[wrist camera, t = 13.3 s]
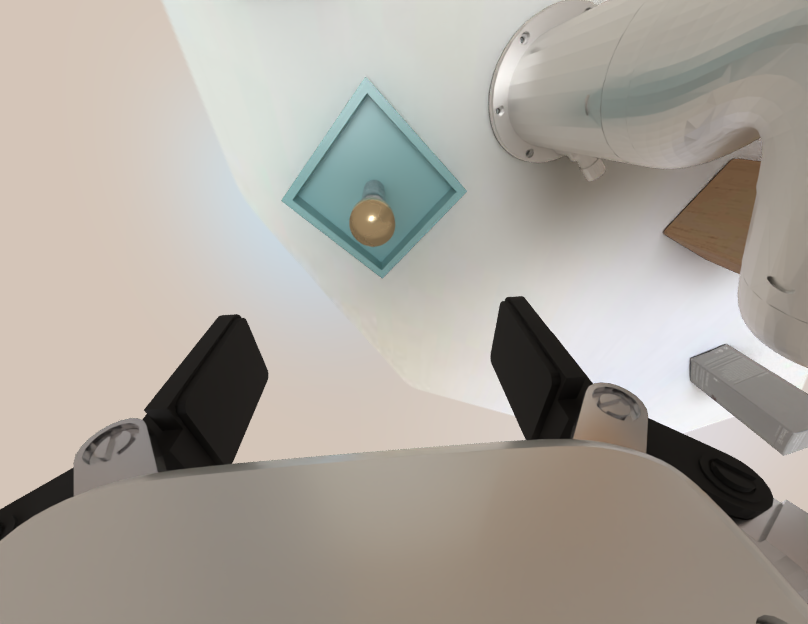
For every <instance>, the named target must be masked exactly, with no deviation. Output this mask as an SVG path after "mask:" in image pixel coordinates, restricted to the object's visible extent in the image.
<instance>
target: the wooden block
mask: <svg viewBox="0 0 808 624" xmlns="http://www.w3.org/2000/svg"><path fill="white" fill-rule="evenodd" d="M760 165H761V161H753V160H744V159H733V160H731V161H730V162H729V163H728V164H727V165H726V166H725V167H724V168H723V169H722V170H721V171H720V172H719V173H718V174H717V175H716V176H715V178H714V179H713V180H712V181H711V182H710V183H709V184H708V185H707V186H706V187H705V188H704V189H703V190H702V191H701V192H700V193H699V194H698V195H697V197H696V198H695V199H694V200H693V201H692V202H691V203H690V204H689V205H688V206H687V207H686V208H685V209H684V210H683V211H682V212H681V213H680V215H679V216H678V217H677V218H676V219H675V220H674V221H673V222H672V223H671V224H670V225H669V226H668V227H667V228H666V229H665V231H664V234H665V235H666V236H668V237H669V238H671V239H673V240H674V241H676V242H678V243H679V244H681V245H683V246H684V247H686V248H688V249H689V250H691V251H693V252H694V253H696V254H698V255H699V256H701V257H703V258H704V259H706V260H708V261H710V262H713V263H715V264H717V265H720V266H722V267H724V268H727V269H729V270H731V271H733V272H736V273H738V274H740V271H741V266H742V258H743V254H744V249H745V245H746V240H747V235H748V231H749V226H750V222H751V217H752V212H753V208H754V203H755V199H756V194H757V191H756V185H757V181H758V176H759V170H760Z"/></svg>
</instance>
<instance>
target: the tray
mask: <svg viewBox="0 0 808 624" xmlns="http://www.w3.org/2000/svg"><path fill="white" fill-rule="evenodd" d="M370 180H377V181H379V182H381V183H382V184H383V186H384V189H385V199H386V203H387V204H388V205H389V206H390V207H391V209H392V211H393V213H394V218H395V231H394V234H393V236H392V237H391V238H390V240H389V241H388V242H386V243H385V244H383V245H381V246H376V247H370V246H366V245H363V244H361V243H360V242H358V241H357V240H356V239H355V238H354V236H353V235H352V233H351V230H350V226H349V220H350V215H351V212H352V209H353V207H354V206H355V205H356V204H357V203H358V202H359V201H360V200H362V195H363V190H364V186H365V184H366V183H367V182H368V181H370ZM466 192H467V191H466V190H465V188H464V187H463V186H462V185H461V184H460V183H459V182H458V180H457V179H456V178H455V177H454V176H453V175H452V174H451V173H450V171H449V170H448V169H447V168H446V167H445V166H444V165H443V163H442V162H441V161H440V160H439V159H438V158H437V157H436V156H435V154H434V153H433V152H432V151H431V150H430V149H429V148H428V147H427V145H426V144H425V143H424V142H423V141H422V140H421V139H420V137H419V136H418V135H417V134H416V133H415V132H414V131H413V130H412V128H411V127H410V126H409V125H408V124H407V123H406V122H405V121H404V119H403V118H402V117H401V116H400V115H399V114H398V113H397V111H396V110H395V109H394V108H393V107H392V106H391V105H390V104H389V102H388V101H387V100H386V99H385V98H384V97H383V96H382V95H381V93H380V92H379V91H378V90H377V89H376V88H375V87H374V85H373V84H372V83H371V82H370V81H369V80H368V79H367V78H366V77H365V78H364V80H363V81H362V83H361V84H360V86H359V87H358V89H357V90H356V91H355V93H354V94H353V96H352V97H351V99H350V100H349V102H348V103H347V105H346V106H345V108H344V109H343V111H342V112H341V114H340V115H339V116H338V118H337V119H336V121H335V122H334V124H333V125H332V127H331V128H330V130H329V131H328V133H327V134H326V136H325V137H324V139H323V140H322V142H321V143H320V144H319V146H318V147H317V149H316V150H315V152H314V153H313V155H312V156H311V158H310V159H309V161H308V162H307V164H306V165H305V167H304V168H303V169H302V171H301V172H300V174H299V175H298V177H297V178H296V180H295V181H294V183H293V184H292V186H291V187H290V189H289V190H288V192H287V193H286V195H285V196H284V197H283V199H282V200H281V201H282V202H284V203H285V204H286V205H287V206H289V207H290V208H291V209H293V210H294V211H295V212H297V213H298V214H299V215H300V216H302V217H303V218H304V219H306V220H307V221H308V222H310V223H311V224H312V225H313V226H315V227H316V228H317V229H319V230H320V231H321V232H323V233H324V234H325V235H326V236H328V237H329V238H330V239H332V240H333V241H334V242H336V243H337V244H338V245H339V246H341V247H342V248H343V249H345V250H346V251H347V252H349V253H350V254H351V255H352V256H354V257H355V258H356V259H358V260H359V261H360V262H362V263H363V264H364V265H365V266H367V267H368V268H369V269H371V270H372V271H373V272H374V273H376V274H377V275H378V276H380V277H381V278H383V277H384V276H385V275H386V274H387V273H388V272H389V271H390V270H391V269H392V268H393V267H394V266H395V265H396V264H397V263H398V262H399V261H400V260H401V259H402V258H403V257H404V256H405V255H406V254H407V253H408V252H409V251H410V250H411V249H412V248H413V247H414V246H415V244H416V243H417V242H418V241H419V240H420V239H421V238H422V237H423V236H424V235H425V234H426V233H427V232H428V231H429V230H430V229H431V228H432V227H433V226H434V225H435V224H436V223H437V222H438V221H439V220H440V219H441V218H442V217H443V216H444V215H445V214H446V213H447V212H448V210H449V209H450V208H451V207H452V206H453V205H454V204H455V203H456V202H457V201H458V200H459V199H460V198H461V197H462V196H463V195H464V194H465V193H466Z"/></svg>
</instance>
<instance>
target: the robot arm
mask: <svg viewBox="0 0 808 624" xmlns="http://www.w3.org/2000/svg"><path fill="white" fill-rule="evenodd" d="M521 37H523V39H524V40H523V43H521V41H520V38H521ZM497 108H499V113H498V114H496V109H497ZM489 112H490V119H491V124H492V127H493V130H494V133H495V136H496V137H497V139H498V141H499V143H500V144H501V146H502V147H503V148H504V149H505V150H506V151H507V152H508V153H510V154H511V155H513V156H514V157H516V158H518V159H521V160H524V161H528V162H533V163H543V162H548V161H553V160H556V159H558V158H561V157H563V156H565V155H566V156H568V157H569V159H570V160H571V161H577V163H578V164H579V166H580V170H581V172H582V173H583V175H584V176H585V178H586V180H587V181H594V180H596V179H598V178H599V177H601V176H602V175H603V174H604V173H605V171H606V167H605V165H604V163H603V162H602V160H601V158H602V159H607V160H612V161H617V162H623V163H628V164H633V165H638V166H645V167H650V168H659V169H678V168H686V167H691V166H696V165H700V164H703V163H707V162H710V161H713V160H715V159H718V158H720V157H723V156H725V155H727V154H730V153H732V152H734V151H736V150H738V149H740V148H742V147H744V146H746V145H748V144H750V143H752V142H754V141H755V140H757V139H759V138H761V140H762V157H761V165H760V170H759V176H758V181H757V185H756V191H757V194H756V199H755V203H754V208H753V212H752V217H751V222H750V226H749V231H748V235H747V240H746V245H745V249H744V254H743V258H742V266H741V271H740V276H739V284H738V293H737V294H738V306H739V309H740V313H741V316H742V319H743V320H744V322H745V324H746V325H747V327H748V328H749V330H750V331H751V332H752V333H753V335H754V336H755V337H756V338H758V339H759V340H760V341H761V342H762V343H764V344H765V345H766V346H768V347H769V348H770V349H772V350H773V351H775V352H776V353H778V354H780V355H781V356H783V357H785V358H787V359H789V360H791V361H793V362H795V363H797V364H799V365H802V366H804V367H807V368H808V0H608V1H606V2H604V3H602V4H600V5H596V4H594V3H592V2H590V1H585V0H565V1H561V2H558V3H556V4H553V5H550V6H548V7H546V8H545V9H543V10H541V11H540V12H538V13H537V14H535V15H534V16H533V17H532V18H530V19H529V20H528V21H527V22H525V23H524V24H523V26H522V27H521V28H520V29H519V30H518V31H517V32H516V33H515V34H514V35H513V37H512V39H511V40H510V42H509V43H508V45H507V46H506V48H505V49H504V51H503V53H502V55H501V57H500V59H499V62H498V64H497V66H496V69H495V73H494V76H493V79H492V83H491V90H490V96H489ZM527 150H528V154H527V155H526V152H527ZM491 363H492V366H493V368H494V370H495V372H496V374H497V377H498V379H499V381H500V383H501V386H502V388H503V390H504V392H505V395H506V397H507V399H508V401H509V403H510V406H511V408H512V410H513V412H514V415H515V417H516V419H517V421H518V424H519V426H520V428H521V430H522V432H523V435H524V437H525V439H526V440H524V441H523V440H522V441H505V442H490V443H478V444H465V445H451V446H439V447H426V448H413V449H400V450H388V451H377V452H364V453H352V454H340V455H329V456H316V457H305V458H294V459H282V460H271V461H259V462H248V463H237V464H232V462H233V460H234V458H235V456H236V453H237V451H238V449H239V446H240V444H241V442H242V439H243V437H244V435H245V432H246V430H247V427H248V425H249V423H250V420H251V418H252V416H253V413H254V411H255V409H256V406H257V403H258V402H259V399H260V397H261V394H262V392H263V390H264V387H265V385H266V383H267V380H268V370H267V368H266V365H265V363H264V360H263V358H262V356H261V353H260V351H259V349H258V346H257V344H256V342H255V339H254V337H253V335H252V332H251V330H250V327H249V325H248V323H247V321H246V319H245V318H241V316H240V315H237V314H236V315H222V316H219V317H218V318H217V319H216V320H215V322H214V323H213V324H212V325H211V327H210V328H209V329H208V330H207V332H206V333H205V334H204V336H203V337H202V338H201V339H200V340H199V342H198V343H197V344H196V346H195V347H194V348H193V349H192V350H191V352H190V353H189V354H188V355H187V357H186V358H185V359H184V361H183V362H182V363H181V364H180V365H179V367H178V368H177V369H176V371H175V372H174V373H173V374H172V375H171V377H170V378H169V379H168V381H167V382H166V383H165V384H164V385H163V387H162V388H161V389H160V391H159V392H158V393H157V394H156V395H155V397H154V398H153V399H152V401H151V402H150V403H149V404H148V406H147V407H146V408H145V409H144V411H145V412H146V413H147V415H146V416H145V417H144V418H143V420H141V419H138V418H129V419H125V420H121V421H118V422H116V423H113V424H111V425H109V426H107V427H105V428H104V429H102V430H100V431H99V432H97V433H96V434H95V435H93V436H92V437H91V438H89V439H88V440H87V441H86V442H85V443H84V444H83V445H82V446H81V448H80V449H79V451H78V452H77V454H76V456H75V460H74V468H72V469H70V470H68V471H67V472H65V473H63V474H61V475H60V476H58V477H56V478H54V479H53V480H51V481H49V482H48V483H46V484H44V485H42V486H40V487H39V488H37V489H35V490H34V491H32V492H30V493H28V494H26V495H25V496H23V497H21V498H19V499H18V500H16V501H14V502H12V503H11V504H9V505H7V506H5V507H4V508H2V509H0V624H808V513H806V512H805V511H803V510H802V509H800V508H799V507H797V506H796V505H794V504H792V503H790V502H789V501H788V500H785V501H784V502H782V503H781V502H779V501H777V500H776V499H774V498H773V495H772V493H771V491H770V489H769V487H768V486H767V484H766V483H765V482H764V480H763V479H762V478H761V477H760V476H759V475H758V474H757V473H755V472H754V471H753V470H752V469H751V468H750V467H748V466H747V465H745V464H744V463H742V462H741V461H739V460H738V459H736V458H733V457H732V456H730V455H728V454H726V453H724V452H722V451H719V450H717V449H715V448H713V447H711V446H709V445H706V444H704V443H702V442H700V441H698V440H695V439H693V438H691V437H689V436H686V435H684V434H682V433H680V432H678V431H676V430H673V429H671V428H669V427H667V426H665V425H662V424H660V423H658V422H656V421H654V420H651V419H649V418H648V413H647V409H646V407H645V406H644V404H643V402H642V401H641V400H640V399H639V398H638V397H637V396H635V395H634V394H632V393H631V392H630V391H628V390H626V389H624V388H622V387H620V386H617V385H614V384H610V383H594V384H593V383H592V382H591V381H590V379H589V378H588V377H587V375H586V374H585V373H584V372H583V370H582V369H581V368H580V367H579V365H578V364H577V363H576V362H575V360H574V359H573V358H572V357H571V355H570V354H569V353H568V351H567V350H566V349H565V348H564V346H563V345H562V344H561V343H560V341H559V340H558V339H557V338H556V336H555V335H554V334H553V333H552V332H551V331H550V329H549V328H548V327H547V326H546V324H545V323H544V322H543V321H542V319H541V318H540V317H539V315H538V314H537V313H536V312H535V310H534V309H533V308H532V307H531V305H530V304H529V303H528V302H527V300H526V299H525V298H524V297H523V296H519V297H507V298H506V299H505V301H502V302H501V303H500V307H499V313H498V318H497V323H496V329H495V334H494V339H493V345H492V350H491Z"/></svg>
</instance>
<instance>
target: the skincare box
mask: <svg viewBox="0 0 808 624" xmlns="http://www.w3.org/2000/svg"><path fill="white" fill-rule="evenodd" d="M691 382H692V383H693V384H695V385H696V386H697V387H698V388H700V389H701V390H702V391H703V392H705V393H706V394H707V395H708V396H710V397H711V398H712V399H713V400H715V401H716V402H717V403H718V404H720V405H721V406H722V407H723V408H725V409H726V410H727V411H728V412H730V413H731V414H732V415H733V416H735V417H736V418H737V419H738V420H740V421H741V422H742V423H744V424H745V425H746V426H747V427H748V428H750V429H751V430H752V431H754V432H755V433H756V434H757V435H758V436H760V437H761V438H762V439H764V440H765V441H766V442H767V443H768V444H770V445H771V446H772V447H773V448H775V449H776V450H777V451H778V452H780V453H781V454H782V455H783V456H784V455H787V454H790V453H793V452H796V451H799V450H802V449H804V448H807V447H808V394H807V393H805V392H804V391H802V390H800V389H799V388H797V387H796V386H794V385H792V384H791V383H789V382H787V381H786V380H784V379H783V378H781V377H779V376H778V375H776V374H774V373H773V372H771V371H770V370H768V369H766V368H765V367H763V366H762V365H760V364H758V363H757V362H755V361H753V360H752V359H750V358H749V357H747V356H745V355H744V354H742V353H741V352H739V351H737V350H736V349H734V348H733V347H731V346H729V345H724V346H721V347H719V348H716V349H714V350H712V351H709V352H707V353H704V354H702V355H699V356H696V357H693V358H691Z"/></svg>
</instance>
